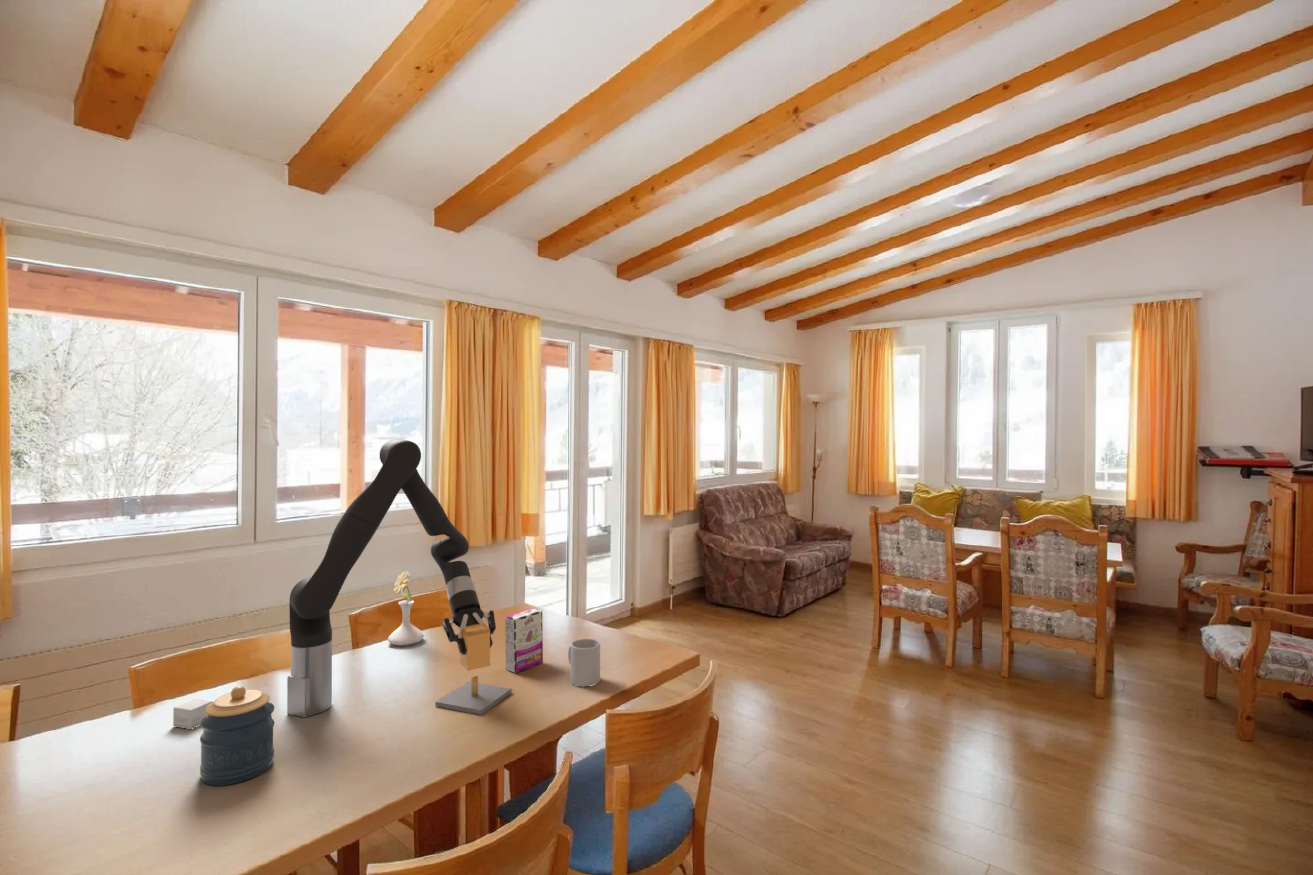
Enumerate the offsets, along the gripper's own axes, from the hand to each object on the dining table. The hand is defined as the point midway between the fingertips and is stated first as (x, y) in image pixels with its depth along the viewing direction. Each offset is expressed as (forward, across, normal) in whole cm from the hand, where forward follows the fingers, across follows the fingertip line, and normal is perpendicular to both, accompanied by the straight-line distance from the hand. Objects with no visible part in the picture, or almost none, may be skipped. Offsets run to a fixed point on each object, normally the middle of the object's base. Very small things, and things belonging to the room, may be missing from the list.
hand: (477, 650), depth 163 cm
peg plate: (+8, 0, +11) cm, 14 cm away
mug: (+12, +30, +8) cm, 33 cm away
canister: (+12, -53, +7) cm, 55 cm away
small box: (-10, -61, +29) cm, 68 cm away
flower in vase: (-31, -4, +51) cm, 59 cm away
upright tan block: (+2, 0, +4) cm, 5 cm away
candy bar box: (-1, +20, +21) cm, 29 cm away
